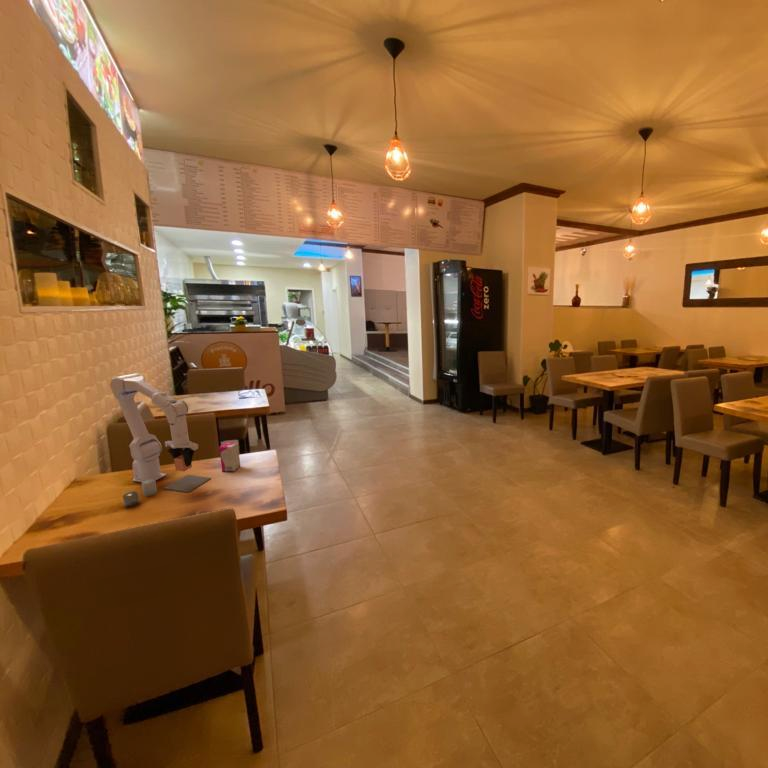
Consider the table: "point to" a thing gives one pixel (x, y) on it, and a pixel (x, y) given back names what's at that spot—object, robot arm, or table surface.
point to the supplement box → (229, 457)
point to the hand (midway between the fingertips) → (184, 464)
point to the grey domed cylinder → (149, 487)
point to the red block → (181, 464)
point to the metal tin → (131, 499)
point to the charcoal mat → (187, 483)
